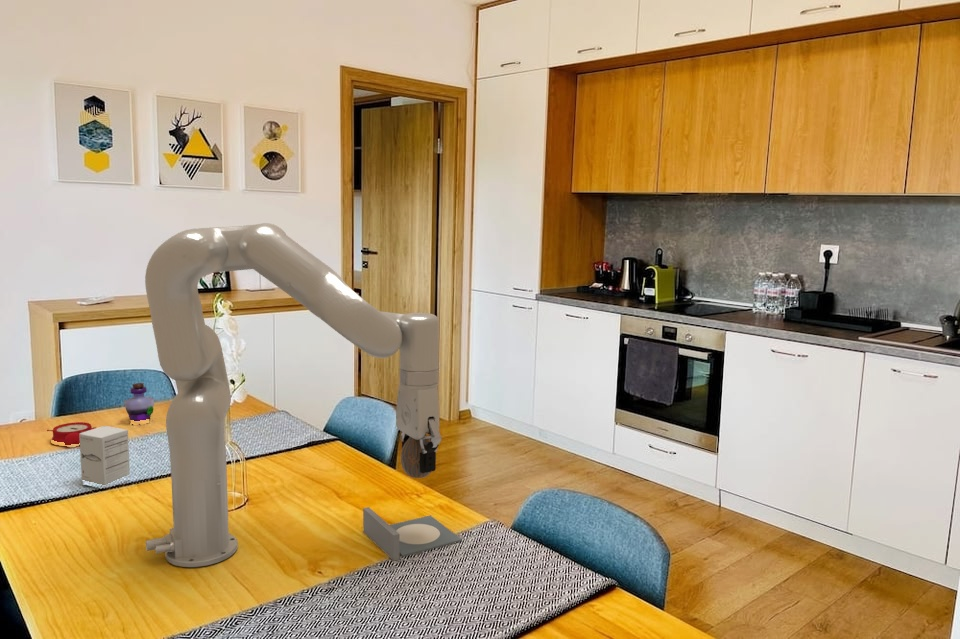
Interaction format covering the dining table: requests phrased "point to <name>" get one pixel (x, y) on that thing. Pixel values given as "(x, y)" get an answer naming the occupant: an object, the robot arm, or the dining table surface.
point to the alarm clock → (70, 432)
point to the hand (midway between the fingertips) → (418, 464)
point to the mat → (423, 535)
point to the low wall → (381, 533)
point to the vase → (412, 458)
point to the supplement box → (104, 454)
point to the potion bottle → (139, 403)
